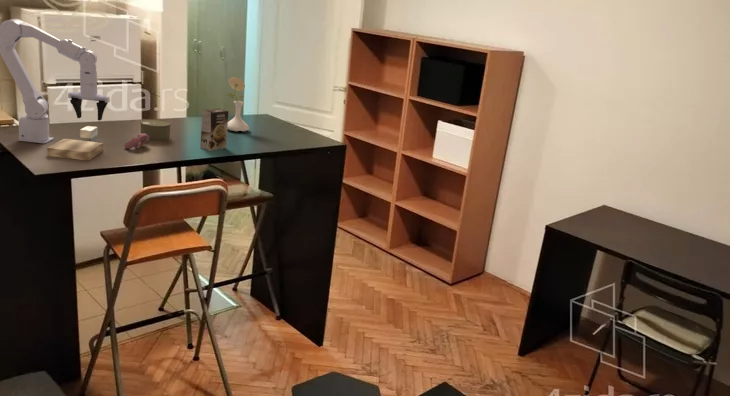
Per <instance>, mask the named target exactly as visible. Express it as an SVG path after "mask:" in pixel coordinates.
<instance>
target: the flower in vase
mask: <svg viewBox="0 0 730 396" xmlns="http://www.w3.org/2000/svg"><path fill="white" fill-rule="evenodd" d="M228 84H229V86H230V88H231V89H233V90H234V91H233V92H230V93H228V94H227V95H226V96H227V97H229V98H232V99H234V98H235V100H234V101H233V105H234V106H235V116H233V118H232V119H230V120H228V126H227V131H232V132H238V131H242V132H247V131H249V129H250V127H249V125H248V124H247V122H245V121H244V120H243V119H242V117H241V110H242V108H243V105H244V104H245V102H244V101H241V100H240V99H242V98H244V95H243V96H239V97H238V98H237V96H236V91H237V92H242V91H244V89H245V87H246V85H245V82H244V81H243V80H242V79H240V77H238V78H237V76H235V77H234V76H233V77H230V78H228Z"/></svg>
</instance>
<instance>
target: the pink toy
mask: <svg viewBox="0 0 730 396" xmlns="http://www.w3.org/2000/svg"><path fill="white" fill-rule="evenodd" d="M149 139H150V136H148V135H147V134H145V133H144V134H143V133H141V132H140V133H137V135H135V136H134V137H132V138H131V139H130V140H129V141H128V142H126V143H125V144H124V147H125V149H126V150H129V149H132V148H135V149H139V147H140V148H142V147H144V146H145V144H146V143H147V142H149V141H148V140H149Z"/></svg>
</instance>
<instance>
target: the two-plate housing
mask: <svg viewBox="0 0 730 396" xmlns="http://www.w3.org/2000/svg"><path fill="white" fill-rule="evenodd" d="M98 134H99V127H98V126H91V125H86V126H84V127H83V128H80V129H79V140H81V141H90V142H98V143H99V135H98Z"/></svg>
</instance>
